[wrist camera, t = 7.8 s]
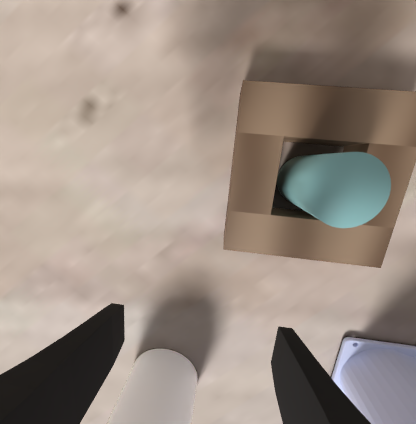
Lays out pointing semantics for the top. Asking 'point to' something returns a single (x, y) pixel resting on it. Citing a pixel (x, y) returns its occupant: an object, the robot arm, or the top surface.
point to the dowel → (336, 186)
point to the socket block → (325, 135)
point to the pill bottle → (157, 390)
